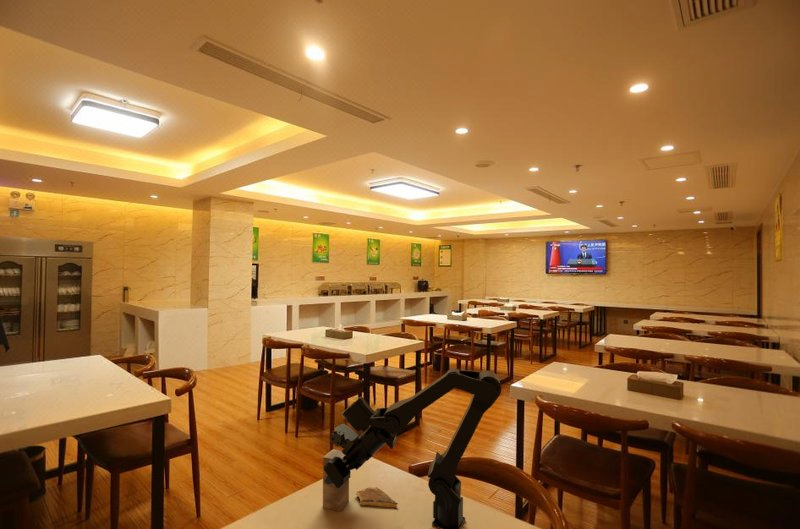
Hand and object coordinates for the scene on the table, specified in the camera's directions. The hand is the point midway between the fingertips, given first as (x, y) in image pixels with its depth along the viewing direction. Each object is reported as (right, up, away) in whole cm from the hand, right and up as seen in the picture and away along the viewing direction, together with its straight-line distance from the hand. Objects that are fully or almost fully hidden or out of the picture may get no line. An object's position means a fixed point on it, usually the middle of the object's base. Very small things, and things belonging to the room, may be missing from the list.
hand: (331, 477), depth 105 cm
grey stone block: (+1, -7, -1) cm, 7 cm away
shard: (+12, -8, +2) cm, 15 cm away
